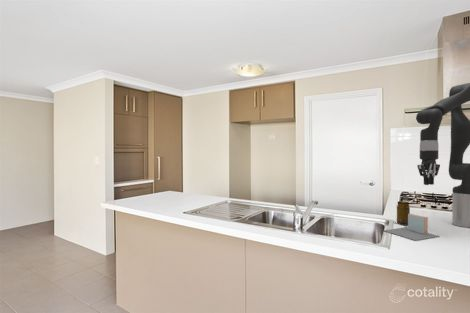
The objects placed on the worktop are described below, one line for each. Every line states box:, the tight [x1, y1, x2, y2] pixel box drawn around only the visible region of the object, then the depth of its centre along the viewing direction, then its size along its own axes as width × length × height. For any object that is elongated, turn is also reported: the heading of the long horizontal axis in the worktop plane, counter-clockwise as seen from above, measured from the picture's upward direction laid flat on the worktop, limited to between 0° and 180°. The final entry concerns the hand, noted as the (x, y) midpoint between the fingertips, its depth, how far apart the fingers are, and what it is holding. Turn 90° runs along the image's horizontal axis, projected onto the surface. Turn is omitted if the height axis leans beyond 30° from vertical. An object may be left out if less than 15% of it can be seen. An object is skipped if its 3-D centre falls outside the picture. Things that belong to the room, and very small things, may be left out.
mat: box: [382, 226, 440, 242], centre depth 127 cm, size 16×16×1 cm
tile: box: [407, 213, 429, 235], centre depth 129 cm, size 2×8×8 cm, turn 21°
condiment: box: [393, 200, 411, 227], centre depth 145 cm, size 7×8×12 cm
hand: (428, 184), depth 132 cm, fingers open, 3 cm apart
